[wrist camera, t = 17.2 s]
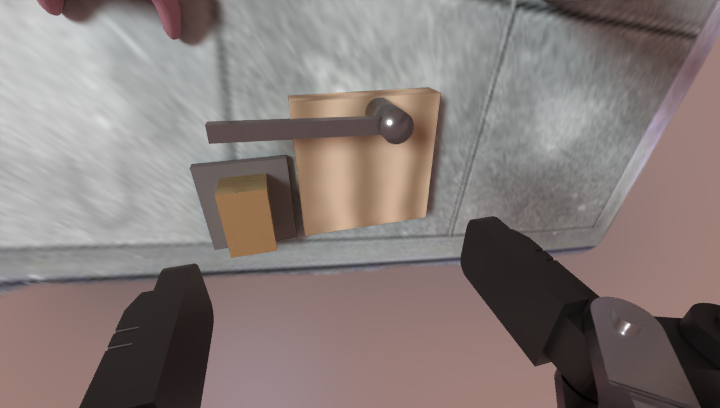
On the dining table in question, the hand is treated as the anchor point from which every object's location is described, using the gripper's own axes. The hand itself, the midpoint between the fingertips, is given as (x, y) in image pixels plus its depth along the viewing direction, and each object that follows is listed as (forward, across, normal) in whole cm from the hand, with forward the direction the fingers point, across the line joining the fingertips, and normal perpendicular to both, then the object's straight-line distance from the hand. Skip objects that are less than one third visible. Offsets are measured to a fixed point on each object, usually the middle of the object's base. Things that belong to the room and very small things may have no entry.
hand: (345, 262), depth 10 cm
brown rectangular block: (+27, +6, +13) cm, 31 cm away
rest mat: (+28, +6, +13) cm, 32 cm away
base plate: (+28, -8, +9) cm, 31 cm away
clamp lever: (+25, -2, +2) cm, 25 cm away
